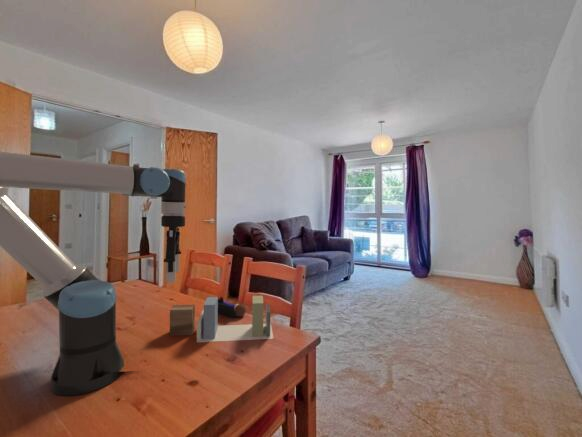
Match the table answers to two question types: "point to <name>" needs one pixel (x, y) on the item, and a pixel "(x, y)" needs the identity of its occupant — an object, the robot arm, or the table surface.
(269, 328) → the bookend
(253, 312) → the book
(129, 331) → the table surface
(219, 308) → the character figurine
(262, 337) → the white book rack
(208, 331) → the book
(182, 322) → the book
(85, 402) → the table surface
